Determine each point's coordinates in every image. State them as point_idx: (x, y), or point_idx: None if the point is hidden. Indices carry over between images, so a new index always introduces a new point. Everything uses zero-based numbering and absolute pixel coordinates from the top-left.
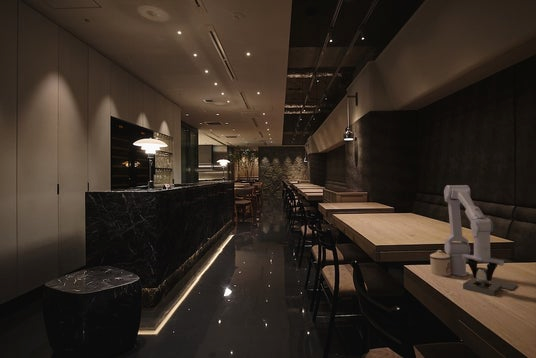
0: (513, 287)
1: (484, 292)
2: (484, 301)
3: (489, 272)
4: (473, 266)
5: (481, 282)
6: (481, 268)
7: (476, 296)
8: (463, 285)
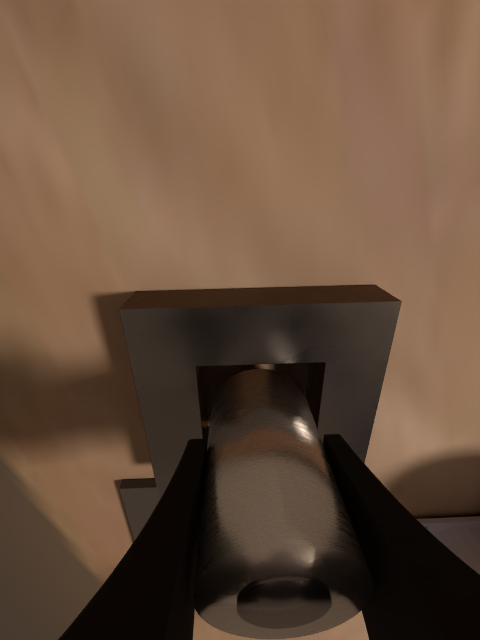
0: (132, 522)
1: (207, 294)
2: (118, 38)
3: (161, 540)
4: (422, 592)
5: (255, 393)
6: (291, 598)
7: (231, 155)
8: (387, 296)
